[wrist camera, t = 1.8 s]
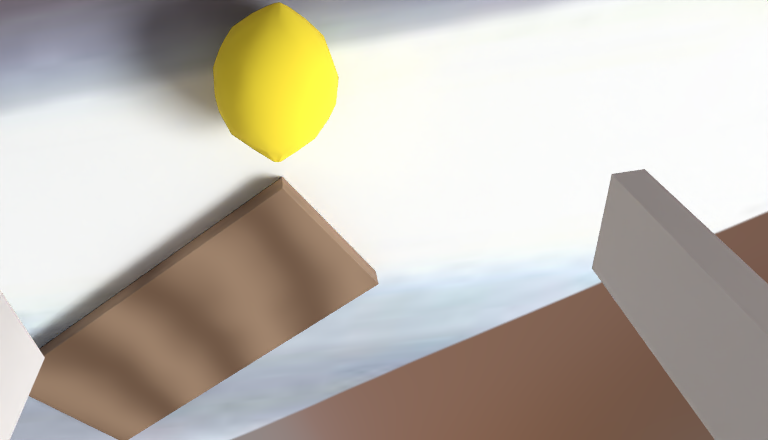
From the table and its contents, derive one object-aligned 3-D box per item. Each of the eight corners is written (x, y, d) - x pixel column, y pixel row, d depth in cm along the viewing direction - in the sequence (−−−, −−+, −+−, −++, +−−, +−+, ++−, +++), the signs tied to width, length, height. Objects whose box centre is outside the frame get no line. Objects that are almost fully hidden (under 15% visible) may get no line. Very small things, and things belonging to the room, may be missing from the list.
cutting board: (127, 427, 40) (123, 442, 39) (12, 368, 35) (4, 383, 34) (375, 271, 35) (378, 284, 34) (282, 176, 30) (282, 188, 29)
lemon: (217, -11, 25) (203, 2, 20) (337, 1, 26) (351, 17, 21) (220, 138, 28) (208, 181, 23) (327, 144, 29) (337, 185, 24)
